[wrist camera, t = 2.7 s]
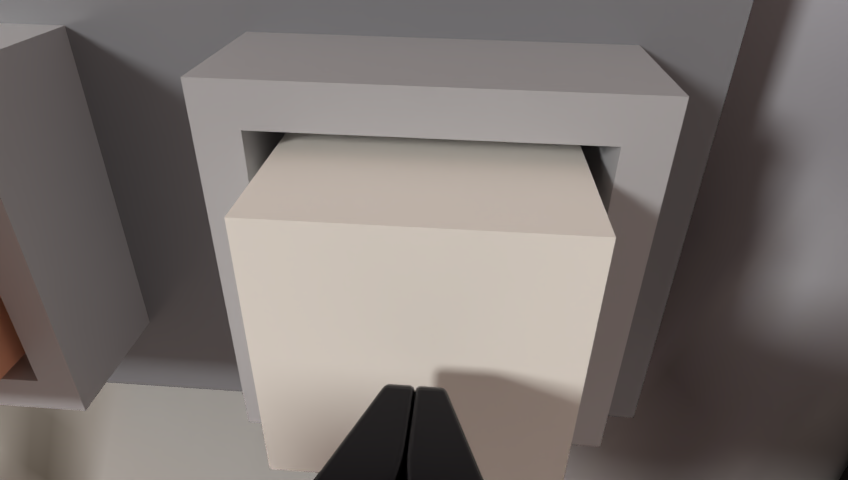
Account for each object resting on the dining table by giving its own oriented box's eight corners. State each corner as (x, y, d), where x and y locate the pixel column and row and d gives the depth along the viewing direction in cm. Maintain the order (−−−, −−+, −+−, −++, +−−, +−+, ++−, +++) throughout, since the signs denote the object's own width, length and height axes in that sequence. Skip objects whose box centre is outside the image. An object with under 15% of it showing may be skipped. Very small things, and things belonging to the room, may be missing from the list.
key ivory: (543, 366, 13) (561, 490, 10) (310, 351, 13) (269, 469, 10) (580, 144, 10) (616, 237, 7) (286, 131, 10) (223, 217, 8)
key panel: (618, 365, 18) (663, 520, 13) (-88, 321, 19) (-252, 451, 15) (735, -100, 11) (890, -86, 7) (-334, -123, 13) (-745, -122, 8)
